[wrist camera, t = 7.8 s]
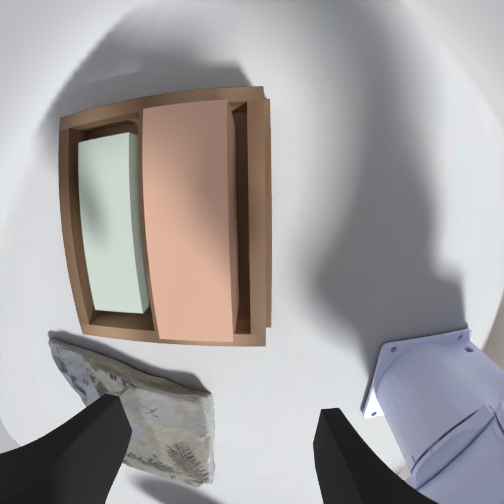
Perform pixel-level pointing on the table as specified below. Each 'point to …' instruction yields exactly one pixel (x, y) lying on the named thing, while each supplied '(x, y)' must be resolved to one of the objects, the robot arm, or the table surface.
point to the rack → (131, 120)
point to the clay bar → (192, 219)
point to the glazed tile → (112, 223)
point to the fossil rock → (148, 414)
